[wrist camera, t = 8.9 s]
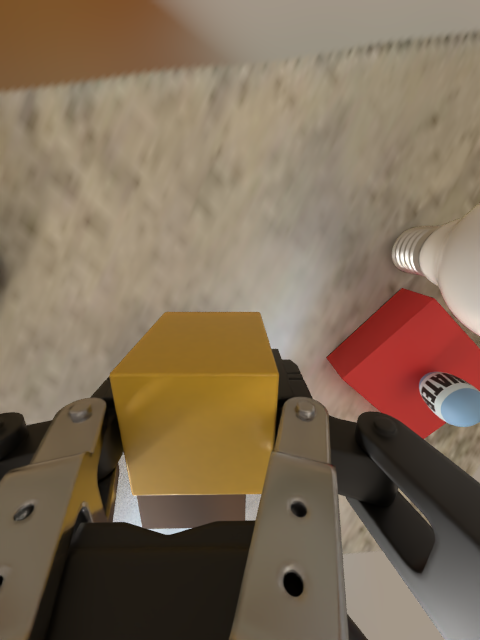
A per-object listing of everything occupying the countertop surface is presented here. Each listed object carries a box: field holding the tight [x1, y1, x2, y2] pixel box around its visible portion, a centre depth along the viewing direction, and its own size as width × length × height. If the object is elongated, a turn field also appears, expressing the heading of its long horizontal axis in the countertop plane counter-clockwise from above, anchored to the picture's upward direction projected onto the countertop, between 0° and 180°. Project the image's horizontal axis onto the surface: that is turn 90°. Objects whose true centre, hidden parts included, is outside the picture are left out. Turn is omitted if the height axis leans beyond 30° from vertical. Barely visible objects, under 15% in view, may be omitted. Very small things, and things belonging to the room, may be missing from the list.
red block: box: [326, 288, 480, 439], centre depth 15 cm, size 8×7×6 cm
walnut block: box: [137, 494, 246, 529], centre depth 19 cm, size 8×8×3 cm
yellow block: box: [109, 312, 279, 496], centre depth 10 cm, size 4×4×6 cm
